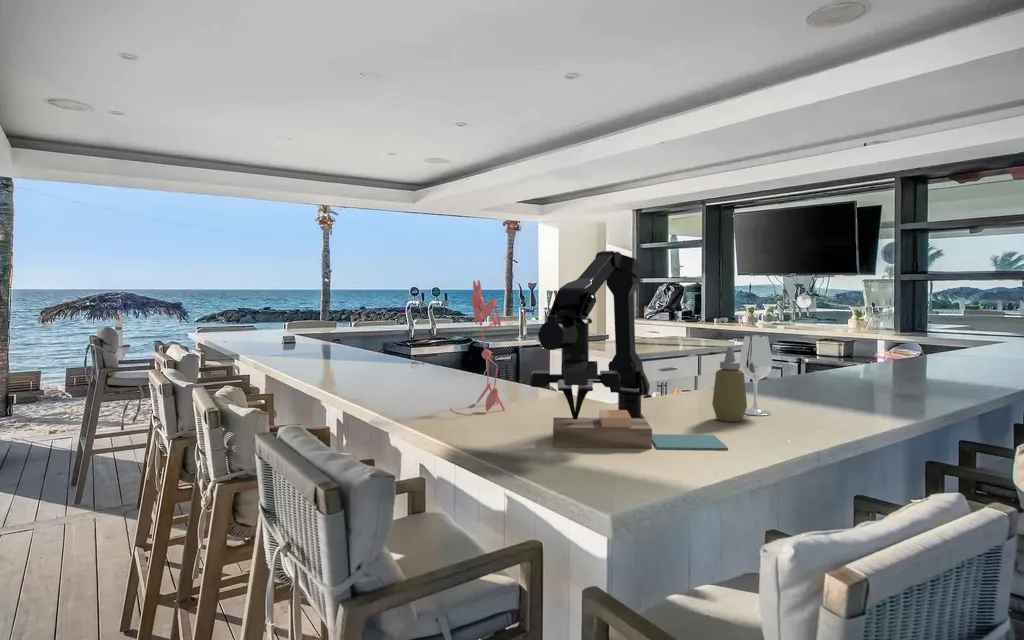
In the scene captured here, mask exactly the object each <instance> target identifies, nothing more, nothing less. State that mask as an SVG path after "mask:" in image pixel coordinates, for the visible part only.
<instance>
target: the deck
mask: <svg viewBox="0 0 1024 640" xmlns="http://www.w3.org/2000/svg"><path fill="white" fill-rule="evenodd" d="M552 422H553V423H552V425H553V426H552V447H553V448H590V449H591V448H594V449H595V448H596V449H597V448H598V449H599V448H601V449H602V448H603V449H606V448H607V449H652V448H653V441H652V434H653V428H652V427H651V425H650V424H649V422H648V421H647V419H646V418H645V417H644V418H631V428H627V427H602V426H601V423H600V420H599V417H578V418H577V419H573V417H553V421H552Z"/></svg>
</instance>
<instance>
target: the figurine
mask: <svg viewBox="0 0 1024 640" xmlns="http://www.w3.org/2000/svg"><path fill="white" fill-rule="evenodd" d="M472 289H473V294H472V295H471V300H470V303H471V306H472V309H473V319H474V323H475V325H478V323H479V325H480V326H481V327H482V325H483V321H485V320H486V319H487V318H488V317H489V316H490V318H491V319H492V321H493V322H492V323H490V324H489V325H488V326H486V327H484V328H483V329H482V330H481V331H480V333H481V339H482V345H483V350H482V352H481V356H482V358H483V360H486V365H487V366H486V368H487V369H486V372H487V373H486V375H487V376H486V377H487V380H486V382H487V384H486V387H485V389H484V390H483V392H482V393H481V394H480V396H479V397H478V399H477V401H476V402H475V403H476V404H479V402H480V401H481V400H482V399H483V398H484V396H485V395H486V394H487V392H488V390H489V393H488V395H487V397H486V399H485V411H486V412H489V411H490V409H492V407H494V406H495V404H497V405H500V407H501V408H502V410H503V411H505V410H506V408H505V407H504V405H503V403H502V401H501V398H500V397H499V390H498V388H497V387H496V383H497V376H498V370H499V365H498V364H497V363H495V362H494V361H493V360H492V359H491V358H492V351H491V350H489V349H486V344H485V342H486V341H485V335H484V332H485V331H486V330H489V328H491V327H492V326H494V327H495V328H496V327H497V326H499V327H501V326H502V325H501V320H500V315H499V312H498V308H497V305H496V299H495V297H492V298H491V299H489V300H488V302H487V303H485V301H484V297H483V296H482V295H483V294H482V285H481V281H480V279H478V280H477V282H476V280H473V281H472ZM494 311H495V312H494ZM495 315H496V318H495ZM494 327H493V328H494ZM489 361H490V362H491V363H492V364H494V365H495V366H496V369H495V377H494V382H493V383H494V384H493V388H491V385H492V383H491V382H489V363H490V362H489ZM452 407H454V405H452V406H451V408H452ZM452 412H453V413H455V414H458V415H462V412H457V411H453V410H452ZM463 415H464V416H470V414H466V413H463Z"/></svg>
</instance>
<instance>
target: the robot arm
mask: <svg viewBox="0 0 1024 640" xmlns="http://www.w3.org/2000/svg"><path fill="white" fill-rule="evenodd" d="M641 276H642V264H641V263H640V262H639V261H638V260H637V259H636V258H635V257H632V256H629V255H626V254H622V252H621V253H620V252H619V251H617V250H601V251H599V252H597V253H596V254H595V258H594V259H593V261H592V262H590V264H589V265H588V266H587V268H585V270H584V271H583V272H582V274H580V275H579V277H578V278H577V279H575V280H572V281H569V282H567V283H565V284H564V285H562V286H561V287H559V289H558V290H557V292H556V295H555V297H554V300H553V302H552V306H551V308H550V311H549V313H548V315H547V316H546V322H545V323H543V324H542V325H540V328H539V331H538V334H537V337H538V340H539V343H540V345H541V346H542V347H543V348H544V349H545V350H548V351H554V350H560V349H561V365H560V366H561V368H560V369H561V373H560V374H559V373H557V374H555V373H553V374H552V373H550V370H547V369H545V370H533V371H532V372H531V374H530V387H531V388H546V387H547V386H548V385H549V384H557V392H563V395H564V397H565V399H566V400H567V403H568V406H569V409H570V414H571V415H572V416H571V418H573V419H577V418H579V414H580V411H581V409H582V405H583V402H584V400H585V398H586V396H587V394H588V392H593V391H594V388H593V386H594V384H602V385H603V386H604V387H605V388H609V390H610V391H609V392H610V393H617V396H618V397H617V410H627V411H628V413H629V414H630V416H631V418H645V416H644V415H643V414H642V396H645V395H647V396H648V395H649V392H650V390H651V389H650V386H651V385H650V383H649V382H650V381H649V380H648V377H647V375H646V373H645V371H644V364H643V361H642V360H641V358H640V357H639V355H638V354H637V352H636V333H635V332H636V330H635V329H636V328H635V302H634V300H635V299H634V297H635V295H634V294H635V292H636V291H637V290H638V289H637V288H638V287H639V285H640V284H641V282H640V281H641ZM604 283H605V284H606V286H607V288H608V290H609V291H610V292H611V294H612V295H613V315H614V316H613V317H614V341H615V354H614V356H613V358H612V360H611V361H609V362H608V364H607V365H608V370H600V371H599V374H598V361H597V360H596V361H595V360H589V358H590V357H589V354H590V353H589V352H590V351H589V347H590V346H589V341H590V340H589V336H590V335H589V331H590V330H589V329H590V328H589V327H590V326H589V324H592V323H593V319H592V318H591V317H589V315H590V313H591V312H592V310H593V308H594V307H595V304H596V303H597V297H596V294H597V292H598V291H599V290H600V288H601V287H602V285H603V284H604ZM572 386H577V391H576V399H575V400H576V401H575V402H574V393H573V387H572Z"/></svg>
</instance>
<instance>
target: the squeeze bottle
mask: <svg viewBox="0 0 1024 640" xmlns="http://www.w3.org/2000/svg"><path fill="white" fill-rule="evenodd" d="M719 368H720V369H718V370H716V371H715V379H714V386H713V394H712V395H713V396H712V401H711V402H712V407H713V411H714V414H715V417H716V419H717V420H718V421H722V422H727V423H738V422H741V421H743V418H744V417H745V414H744V413H745V411H746V409H748V408H747V407H748V402H747V401H748V400H747V393H746V392H747V391H746V381H745V380H746V378H745V374H744V373H743V372H742V370H741V368H740V361H736V357H735V351H734V347H733V346H727V348H726V352H725V357H724V360H720V361H719Z"/></svg>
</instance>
